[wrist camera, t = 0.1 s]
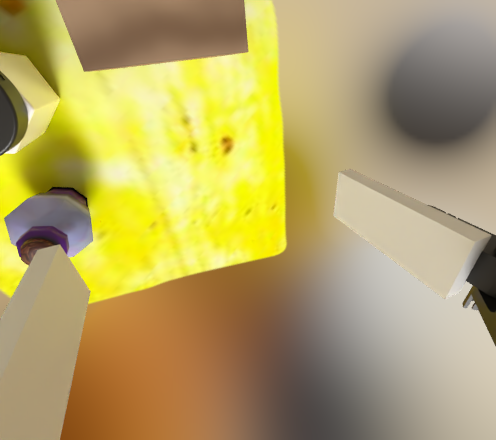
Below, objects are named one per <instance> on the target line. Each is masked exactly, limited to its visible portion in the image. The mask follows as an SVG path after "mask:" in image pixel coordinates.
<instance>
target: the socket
mask: <svg viewBox="0 0 496 440" xmlns="http://www.w3.org/2000/svg"><path fill="white" fill-rule="evenodd" d="M56 2H57V5H58V7H59V10H60V12H61V15H62V17H63V20H64V22H65V25H66V27H67V30H68V32H69V35H70V37H71V40H72V42H73V45H74V47H75V50H76V52H77V55H78V57H79V60H80V62H81V65H82V67H83V70H84V72H85V71H99V70H108V69H116V68H125V67H133V66H141V65H150V64H158V63H166V62H175V61H183V60H192V59H200V58H208V57H217V56H225V55H232V54H239V53H245V52H248V43H247V31H246V19H245V7H244V0H56Z"/></svg>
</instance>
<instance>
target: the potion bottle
mask: <svg viewBox="0 0 496 440" xmlns="http://www.w3.org/2000/svg"><path fill="white" fill-rule="evenodd" d="M4 219H5V223H6V226H7V230H8V233H9V237H10V240H11V244H13V245H15V246H17V249H18V253H19V256H20V257H21V260H22V261H23V262H24V263H26V264H28V265H30V263H31V261H32V259H33V258H34V256H35V254H36V252H37V250H40V249H43V248H47V247H51V246H55V245H59V244H60V245H61V247H62V248H63V250H64V251H65V253H66V255H67V256H68V257H74V256H75V255H76V254H77V253H79V252H80V251H81V250H82V249H83V248H85V247H86V246H87V245H88V244H90V243H91V242H92V241H93V235H92V226H91V217H90V212H89V208H88V204H87V198H86V197H85V196H83V195H82V194H80V193H79V192H78V191H76V190H75V189H74V188H68V187H52V188H51V189H50V190H49V191H48V192H46V193H39V194H37V195H35V196H33V197H30V198H28V199H27V200H25V201H24V202H23V203H22V204H21V205H19V206H18V207H17V208H16V209H15V210H13V211H12V212H11V213H10V214H9V215H7V216H6V217H5V218H4Z"/></svg>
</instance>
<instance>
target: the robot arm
mask: <svg viewBox="0 0 496 440" xmlns="http://www.w3.org/2000/svg"><path fill="white" fill-rule="evenodd" d="M334 217H335V218H337V219H338V220H339V221H341V222H342V223H344V224H345V225H346V226H348V227H349V228H350V229H352V230H353V231H354V232H356V233H357V234H358V235H360V236H361V237H362V238H364V239H365V240H366V241H368V242H369V243H370V244H372V245H373V246H374V247H376V248H377V249H378V250H380V251H381V252H382V253H384V254H385V255H386V256H388V257H389V258H390V259H392V260H393V261H394V262H396V263H397V264H399V265H400V266H401V267H402V268H404V269H405V270H406V271H408V272H409V273H410V274H412V275H413V276H414V277H416V278H417V279H418V280H420V281H421V282H422V283H424V284H425V285H426V286H428V287H429V288H430V289H432V290H433V291H435V292H436V293H437V294H438V295H440V296H441V297H442V298H444V299H447V298H449V297H451V296H453V295H455V294H458V293H459V292H460V291H461V289H462V287H463V285H464V284H465V282H466V281H467V282H469V283H470V284H472V285H473V287H472V288H471V290H470V291H469V293H468V295H467V297H466V298H465V300H464V302H463V307H464V308H467V307H468V305H469V304H470V302H471V301H475V303H474V304H473V307H472V309H474V310H479V312H480V314H481V316H482V318H483V320H484V323H485V325H486V327H487V329H488V331H489V333H490V335H491V337H492V339H493V342H494V344H495V346H496V235H494V234H491V233H489V232H487V231H485V230H483V229H481V228H478V227H476V226H474V225H472V224H470V223H468V222H466V221H463V220H461V219H459V218H458V219H457V218H456V217H455V216H453V215H451V214H446V212H444V211H442V210H440V209H437V208H436V207H433V206H430V205H426V204H424V203H422V202H420V201H418V200H416V199H413V198H411V197H409V196H407V195H405V194H402V193H401V192H399V191H396V190H394V189H392V188H390V187H388V186H386V185H384V184H382V183H379V182H377V181H375V180H373V179H371V178H369V177H367V176H364V175H362V174H360V173H358V172H356V171H354V170H351V169H349V170H345V171H341V172H339V174H338V182H337V191H336V199H335V208H334ZM89 296H90V290H89V289H88V287H87V286H86V284H85V282H84V281H83V279H82V278H81V276H80V275H79V273H78V272H77V270H76V268H75V267H74V265H73V264H72V262H71V261H70V259H69V258H68V256H67V255H66V253H65V251H64V250H63V248H62V247H61V245H60V244H59V245H55V246H51V247H47V248H43V249H40V250H37V252H36V254H35V256H34V258H33V259H32V261H31V263H30V265H29V267H28V269H27V270H26V272H25V274H24V276H23V278H22V280H21V281H20V283H19V285H18V287H17V289H16V291H15V292H14V294H13V296H12V298H11V300H10V302H9V303H8V305H7V307H6V309H5V311H4V313H3V315H2V316H1V318H0V440H60V436H61V431H62V426H63V421H64V416H65V412H66V407H67V402H68V397H69V392H70V387H71V382H72V377H73V372H74V368H75V363H76V358H77V354H78V349H79V344H80V339H81V334H82V329H83V324H84V320H85V315H86V310H87V305H88V300H89Z"/></svg>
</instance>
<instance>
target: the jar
mask: <svg viewBox="0 0 496 440" xmlns="http://www.w3.org/2000/svg"><path fill="white" fill-rule="evenodd" d="M59 101H60V98H59V97H58V96H57V94H56V93H55V92H54V91H53V89H52V88H51V87H50V85H49V84H48V83H47V82H46V80H45V79H44V78H43V77H42V75H41V74H40V73H39V71H38V70H37V69H36V68H35V66H34V65H33V64H32V63H31V61H30V60H29V59H28V57H26V56H25V55H20V54H13V53H6V52H0V156H1V155H3V154H4V153H10V154H14V153H16V152H18V151H19V150H21V149H22V148H24V147H25V146H26V145H28V144H29V143H31V142H32V141H34V140H35V139H37V138H38V137H39V136H41V135H42V134H44V133H45V132H46V130H47V128H48V125H49V123H50V121H51V119H52V117H53V114H54V112H55V110H56V108H57V106H58V104H59Z"/></svg>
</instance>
